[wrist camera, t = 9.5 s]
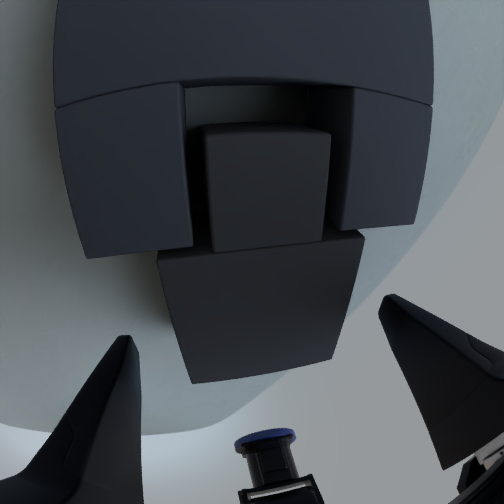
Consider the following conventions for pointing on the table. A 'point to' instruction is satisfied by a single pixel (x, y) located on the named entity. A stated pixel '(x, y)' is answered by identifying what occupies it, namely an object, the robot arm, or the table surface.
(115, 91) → the dark grey block
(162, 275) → the black tabbed block
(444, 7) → the table surface
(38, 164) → the table surface
